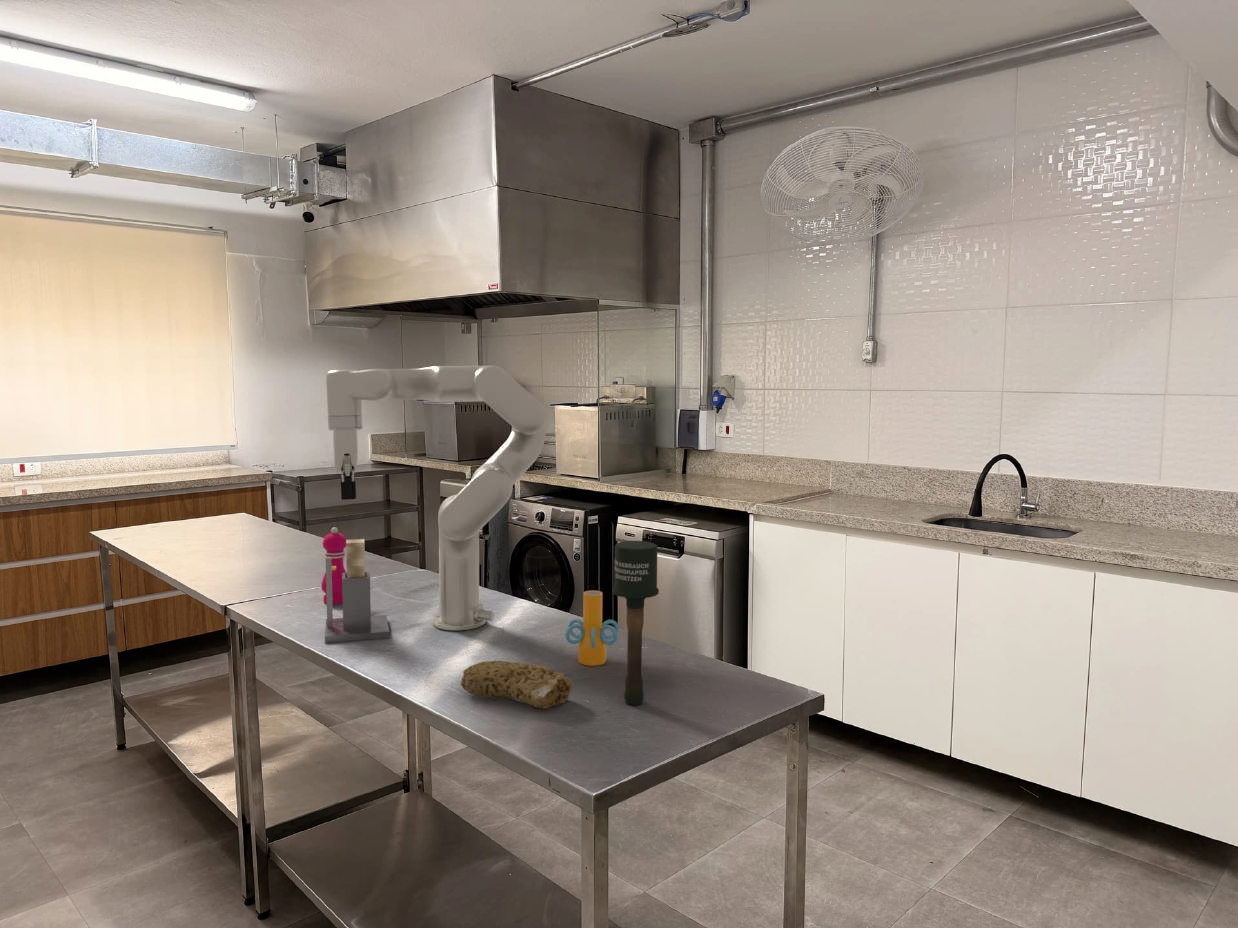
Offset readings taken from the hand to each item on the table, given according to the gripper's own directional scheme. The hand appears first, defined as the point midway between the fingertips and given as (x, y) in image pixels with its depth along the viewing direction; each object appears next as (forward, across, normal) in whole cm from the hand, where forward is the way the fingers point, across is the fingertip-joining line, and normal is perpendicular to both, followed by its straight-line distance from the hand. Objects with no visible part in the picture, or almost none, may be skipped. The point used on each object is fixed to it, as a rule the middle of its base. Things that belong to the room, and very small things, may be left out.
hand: (348, 496), depth 194 cm
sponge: (+33, +53, +28) cm, 69 cm away
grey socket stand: (+32, +3, +1) cm, 32 cm away
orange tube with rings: (+33, +38, +48) cm, 70 cm away
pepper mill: (+32, -26, -4) cm, 41 cm away
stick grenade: (+33, +62, +49) cm, 85 cm away
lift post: (+30, +3, +1) cm, 30 cm away
